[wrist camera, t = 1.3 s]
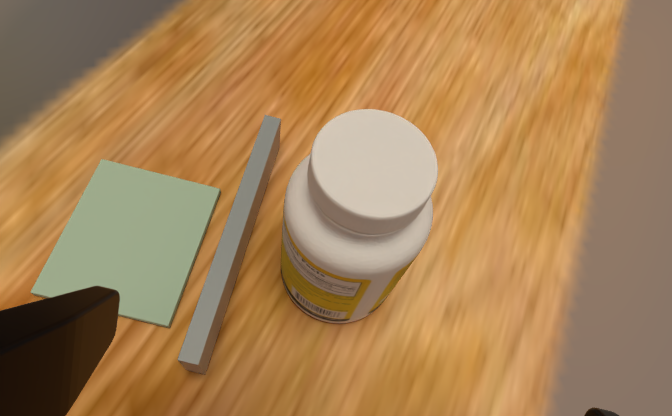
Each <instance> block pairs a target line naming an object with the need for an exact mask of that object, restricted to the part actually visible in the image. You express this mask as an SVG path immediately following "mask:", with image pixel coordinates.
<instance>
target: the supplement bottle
mask: <svg viewBox="0 0 672 416" xmlns="http://www.w3.org/2000/svg"><path fill="white" fill-rule="evenodd" d="M437 177H438V164H437V159H436V155H435V152H434V150H433V148H432V146H431V144H430V142H429V141H428V139H427V138H426V137H425V135H424V134H423V133H422V132H421V131H420V130H419V129H418V128H417V127H416V126H415V125H413V124H412V123H410V122H409V121H407V120H405V119H404V118H402V117H400V116H398V115H395V114H393V113H389V112H386V111H381V110H375V109H361V110H354V111H349V112H346V113H344V114H341V115H339V116H337V117H335V118H333V119H332V120H330V121H329V122H328V123H327V124H326V125H325V126H324V127H323V128H322V129H321V130H320V132H319V133H318V134H317V136H316V138H315V140H314V143H313V146H312V150H311V154H309V155H308V156H307V157H306V158H305V159H304V160H303V161H302V162H301V163H300V164H299V165H298V166H297V168H296V169H295V171H294V172H293V174H292V176H291V178H290V180H289V183H288V186H287V190H286V194H285V200H284V211H283V229H282V247H281V274H282V280H283V283H284V286H285V288H286V290H287V292H288V294H289V296H290V298H291V299H292V300H293V302H294V303H295V304H296V305H297V306H298V307H299V308H300V309H301V310H303V311H304V312H305V313H307V314H308V315H310V316H312V317H314V318H316V319H319V320H321V321H325V322H329V323H349V322H353V321H357V320H359V319H362V318H364V317H366V316H368V315H369V314H371V313H372V312H373V311H375V310H376V309H377V308H378V307H379V306H380V305H381V304H382V303H383V301H384V300H385V299H386V298H387V296H388V295H389V294H390V292H391V291H392V289H393V288H394V287H395V285H396V284H397V283H398V281H399V280H400V278H401V277H402V276H403V274H404V273H405V272H406V270H407V269H408V268H409V266H410V265H411V263H412V262H413V261H414V259H415V258H416V257H417V255H418V254H419V253H420V251H421V249H422V247H423V246H424V244H425V242H426V240H427V238H428V236H429V233H430V230H431V226H432V220H433V206H432V200H431V194H432V192H433V191H434V188H435V186H436V182H437Z"/></svg>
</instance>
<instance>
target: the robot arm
mask: <svg viewBox="0 0 672 416" xmlns="http://www.w3.org/2000/svg"><path fill="white" fill-rule="evenodd" d="M119 303H120V295H119V292H118V291H117V290H114V289H110V288H106V287H102V286H92V287H89V288H85V289H81V290H77V291H73V292H70V293H66V294H62V295H58V296H54V297H51V298H47V299H43V300H39V301H36V302H32V303H28V304H24V305H20V306H17V307H13V308H9V309H5V310H1V311H0V416H66V414H67V413H68V411H69V410H70V408H71V407H72V405H73V404H74V402H75V401H76V399H77V397H78V396H79V394H80V393H81V391H82V389H83V388H84V386H85V384H86V383H87V381H88V380H89V378H90V376H91V375H92V373H93V372H94V370H95V368H96V367H97V365H98V363H99V362H100V360H101V359H102V357H103V355H104V354H105V352H106V351H107V349H108V347H109V346H110V344H111V342H112V340H113V338H114V336H115V332H116V327H117V319H118V311H119ZM585 416H619V415H617V414H616V413H614V412H611V411H608V410H603V409H599V408H591V409H589V410H588V411H587V412H586V414H585Z"/></svg>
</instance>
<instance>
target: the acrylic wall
mask: <svg viewBox="0 0 672 416" xmlns="http://www.w3.org/2000/svg"><path fill="white" fill-rule="evenodd" d="M280 125H281V119H279V118H275V117H271V116H267V115H265V117H264V119H263V122H262V125H261V128H260V130H259V133H258V136H257V139H256V142H255V144H254V147H253V150H252V153H251V156H250V158H249V161H248V164H247V167H246V170H245V172H244V175H243V178H242V181H241V184H240V186H239V189H238V192H237V195H236V198H235V200H234V203H233V206H232V209H231V212H230V214H229V217H228V220H227V223H226V225H225V228H224V231H223V234H222V237H221V239H220V242H219V245H218V248H217V251H216V253H215V256H214V259H213V262H212V265H211V267H210V270H209V273H208V276H207V279H206V281H205V284H204V287H203V290H202V293H201V295H200V298H199V301H198V304H197V306H196V309H195V312H194V315H193V318H192V320H191V323H190V326H189V329H188V332H187V334H186V337H185V340H184V343H183V346H182V348H181V351H180V354H179V357H178V361H179V362H180V363H181V364H182V366H183V367H184V368H185V369H186V370H188V371H192V372H196V373H200V374H206V371H207V368H208V365H209V361H210V358H211V355H212V352H213V349H214V346H215V343H216V340H217V337H218V334H219V331H220V328H221V325H222V322H223V319H224V315H225V312H226V309H227V306H228V303H229V300H230V297H231V294H232V291H233V288H234V285H235V282H236V279H237V276H238V273H239V270H240V266H241V263H242V260H243V257H244V254H245V251H246V248H247V245H248V242H249V239H250V236H251V233H252V230H253V227H254V224H255V221H256V217H257V214H258V211H259V208H260V205H261V202H262V199H263V196H264V193H265V190H266V187H267V184H268V181H269V178H270V175H271V171H272V168H273V165H274V162H275V159H276V156H277V153H278V150H279V144H280Z"/></svg>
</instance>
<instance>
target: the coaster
mask: <svg viewBox="0 0 672 416" xmlns="http://www.w3.org/2000/svg"><path fill="white" fill-rule="evenodd" d="M220 193H221V191H220V189H219V188H215V187H211V186H207V185H203V184H199V183H195V182H191V181H187V180H183V179H179V178H175V177H171V176H167V175H163V174H159V173H155V172H151V171H147V170H143V169H139V168H135V167H131V166H127V165H123V164H119V163H115V162H111V161H107V160H103V159H102V160H101V161H100V163H99V165H98V167H97V169H96V171H95V173H94V174H93V176H92V178H91V180H90V182H89V184H88V186H87V188H86V189H85V191H84V193H83V195H82V197H81V199H80V201H79V202H78V204H77V206H76V208H75V210H74V212H73V214H72V216H71V217H70V219H69V221H68V223H67V225H66V227H65V229H64V231H63V232H62V234H61V236H60V238H59V240H58V242H57V244H56V245H55V247H54V249H53V251H52V253H51V255H50V257H49V259H48V260H47V262H46V264H45V266H44V268H43V270H42V272H41V273H40V275H39V277H38V279H37V281H36V283H35V285H34V287H33V288H32V290H31V293H32V294H34V295H36V296H40V297H44V298H51V297H54V296H58V295H62V294H66V293H70V292H73V291H77V290H81V289H85V288H89V287H92V286H102V287H106V288H110V289H114V290H117V291H118V292H119V295H120V303H119V311H118V316H122V317H126V318H130V319H134V320H138V321H143V322H147V323H151V324H155V325H159V326H163V327H167V328H170V326H171V323H172V321H173V318H174V315H175V313H176V310H177V307H178V305H179V302H180V299H181V297H182V294H183V291H184V289H185V286H186V283H187V281H188V278H189V276H190V273H191V270H192V268H193V265H194V262H195V260H196V257H197V254H198V252H199V249H200V246H201V244H202V241H203V238H204V236H205V233H206V230H207V228H208V225H209V222H210V220H211V217H212V215H213V212H214V209H215V207H216V204H217V201H218V199H219V196H220Z"/></svg>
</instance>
